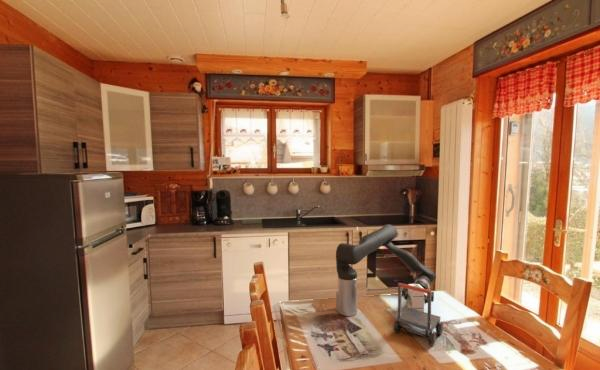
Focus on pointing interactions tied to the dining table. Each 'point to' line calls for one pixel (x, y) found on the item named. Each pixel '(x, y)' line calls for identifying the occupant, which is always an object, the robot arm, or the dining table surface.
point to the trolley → (418, 317)
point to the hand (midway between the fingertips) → (415, 299)
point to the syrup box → (416, 298)
